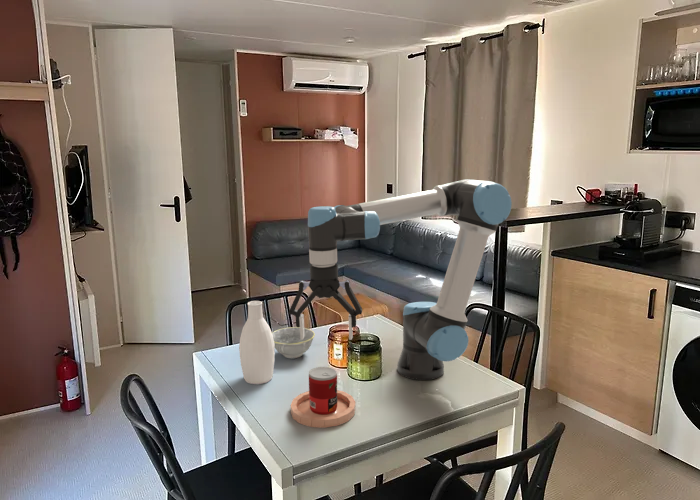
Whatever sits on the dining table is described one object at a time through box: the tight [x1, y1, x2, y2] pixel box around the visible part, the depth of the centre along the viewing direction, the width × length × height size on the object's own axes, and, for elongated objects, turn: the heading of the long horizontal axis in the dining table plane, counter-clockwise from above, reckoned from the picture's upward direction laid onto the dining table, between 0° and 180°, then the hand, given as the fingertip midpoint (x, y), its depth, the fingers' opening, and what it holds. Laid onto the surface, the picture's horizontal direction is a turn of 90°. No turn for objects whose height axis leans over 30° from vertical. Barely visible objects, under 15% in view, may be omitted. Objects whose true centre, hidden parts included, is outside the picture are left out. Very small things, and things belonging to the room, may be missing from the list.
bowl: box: [271, 326, 315, 359], centre depth 190 cm, size 16×16×8 cm
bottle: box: [238, 300, 275, 385], centre depth 170 cm, size 11×11×25 cm
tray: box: [290, 389, 357, 429], centre depth 151 cm, size 18×18×2 cm
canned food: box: [308, 366, 338, 415], centre depth 150 cm, size 8×8×11 cm
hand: (326, 338), depth 149 cm, fingers open, 13 cm apart
